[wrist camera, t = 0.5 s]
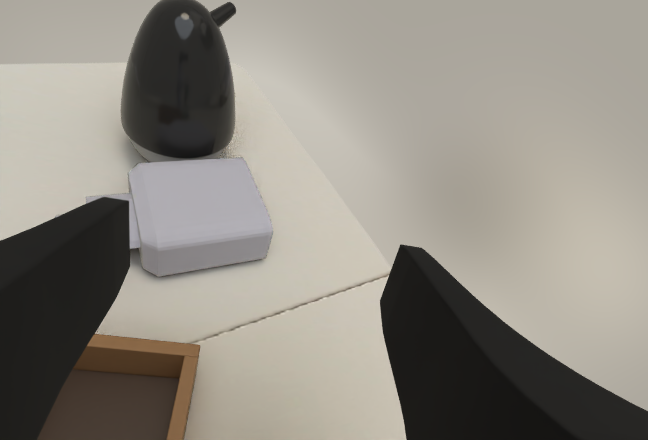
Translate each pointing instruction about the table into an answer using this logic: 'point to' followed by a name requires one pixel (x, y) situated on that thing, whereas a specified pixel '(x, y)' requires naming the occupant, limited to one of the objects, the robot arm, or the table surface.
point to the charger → (195, 215)
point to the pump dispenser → (179, 84)
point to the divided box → (125, 391)
